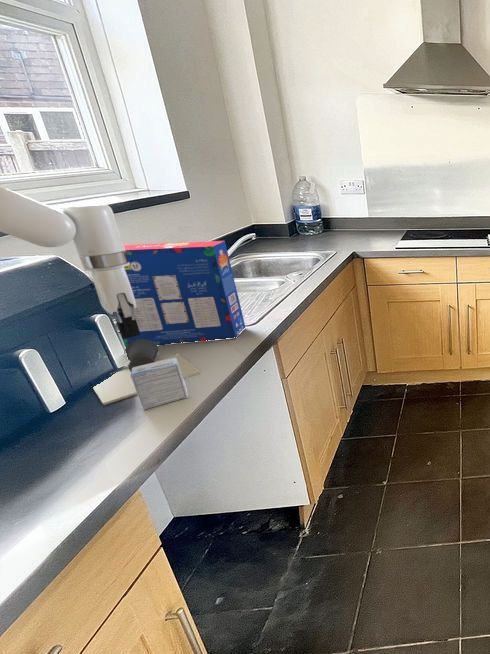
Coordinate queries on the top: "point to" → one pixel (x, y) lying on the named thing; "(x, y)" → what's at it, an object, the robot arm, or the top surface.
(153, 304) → the pasta box
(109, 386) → the mat
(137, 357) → the sundae
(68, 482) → the top surface
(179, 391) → the medicine box
